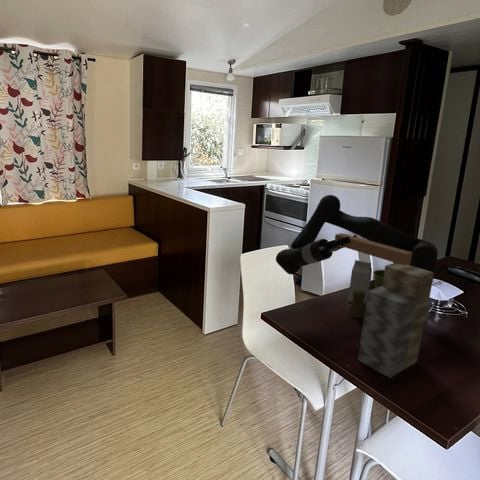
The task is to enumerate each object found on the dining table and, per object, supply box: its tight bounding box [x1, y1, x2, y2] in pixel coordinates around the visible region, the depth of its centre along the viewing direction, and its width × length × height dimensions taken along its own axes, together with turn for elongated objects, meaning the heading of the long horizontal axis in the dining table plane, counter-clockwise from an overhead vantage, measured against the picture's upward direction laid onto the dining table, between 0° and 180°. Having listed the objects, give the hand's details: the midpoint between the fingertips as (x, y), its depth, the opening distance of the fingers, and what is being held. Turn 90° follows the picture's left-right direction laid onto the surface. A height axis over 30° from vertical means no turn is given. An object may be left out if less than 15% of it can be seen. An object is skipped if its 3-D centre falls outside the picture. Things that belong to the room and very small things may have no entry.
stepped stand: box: [357, 262, 435, 379], centre depth 124 cm, size 12×16×32 cm
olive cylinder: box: [348, 290, 365, 319], centre depth 160 cm, size 6×6×11 cm
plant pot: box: [372, 269, 385, 288], centre depth 181 cm, size 12×12×11 cm
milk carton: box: [347, 259, 373, 305], centre depth 173 cm, size 7×7×19 cm
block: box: [334, 232, 412, 265], centre depth 123 cm, size 26×4×4 cm, turn 37°
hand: (352, 238), depth 128 cm, fingers closed on block, 3 cm apart
